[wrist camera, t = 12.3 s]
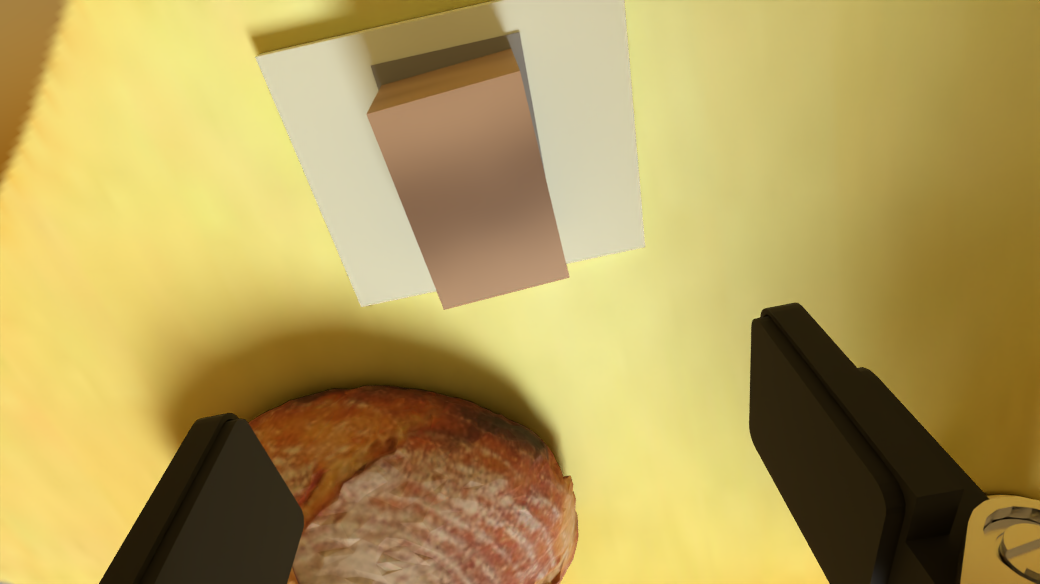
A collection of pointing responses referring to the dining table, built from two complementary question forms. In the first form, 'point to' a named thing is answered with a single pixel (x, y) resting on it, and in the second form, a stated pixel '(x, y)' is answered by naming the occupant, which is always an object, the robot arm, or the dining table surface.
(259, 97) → the dining table surface
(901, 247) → the dining table surface
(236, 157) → the dining table surface
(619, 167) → the mat
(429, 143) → the brown rectangular block
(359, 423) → the bread
